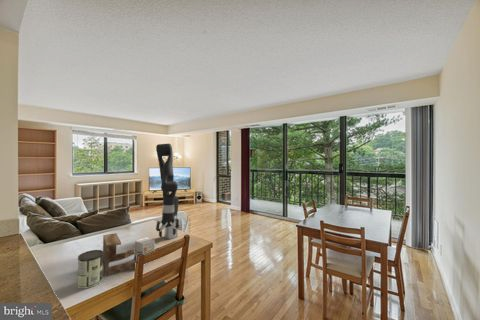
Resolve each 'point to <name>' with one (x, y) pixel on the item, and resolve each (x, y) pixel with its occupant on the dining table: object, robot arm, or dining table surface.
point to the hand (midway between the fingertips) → (167, 235)
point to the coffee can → (90, 268)
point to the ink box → (144, 246)
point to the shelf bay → (115, 255)
